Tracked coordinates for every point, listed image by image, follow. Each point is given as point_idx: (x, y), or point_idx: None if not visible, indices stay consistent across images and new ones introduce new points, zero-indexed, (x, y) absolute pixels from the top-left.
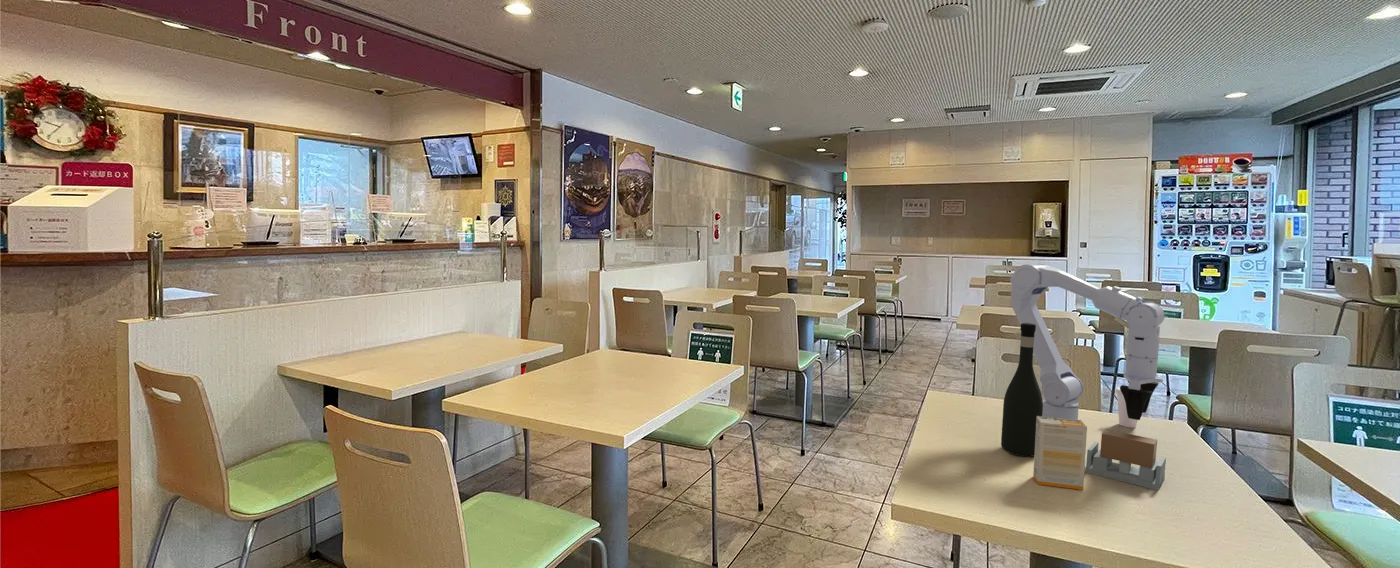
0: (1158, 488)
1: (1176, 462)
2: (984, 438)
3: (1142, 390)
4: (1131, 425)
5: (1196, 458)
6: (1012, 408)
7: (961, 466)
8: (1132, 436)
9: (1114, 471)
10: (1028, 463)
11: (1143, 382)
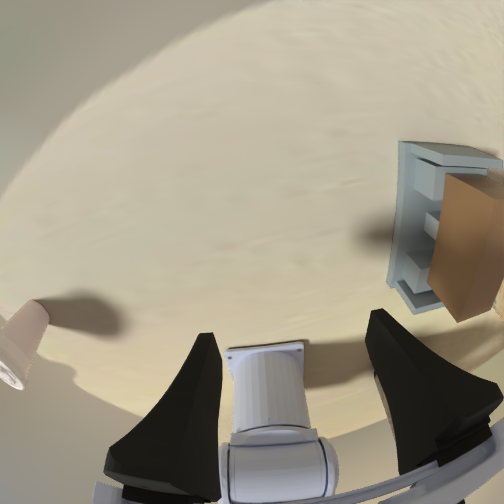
0: (471, 147)
1: (203, 147)
2: (363, 399)
3: (466, 429)
4: (39, 307)
5: (108, 128)
6: None
7: (478, 349)
8: (492, 259)
9: None
10: (445, 329)
11: (492, 464)
